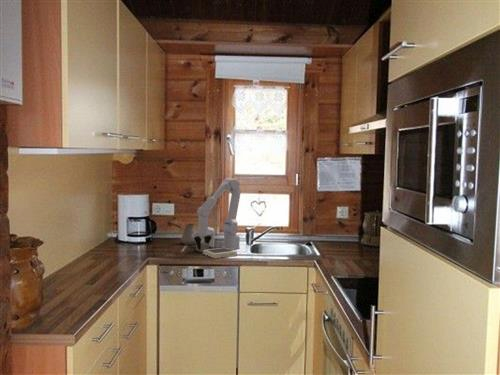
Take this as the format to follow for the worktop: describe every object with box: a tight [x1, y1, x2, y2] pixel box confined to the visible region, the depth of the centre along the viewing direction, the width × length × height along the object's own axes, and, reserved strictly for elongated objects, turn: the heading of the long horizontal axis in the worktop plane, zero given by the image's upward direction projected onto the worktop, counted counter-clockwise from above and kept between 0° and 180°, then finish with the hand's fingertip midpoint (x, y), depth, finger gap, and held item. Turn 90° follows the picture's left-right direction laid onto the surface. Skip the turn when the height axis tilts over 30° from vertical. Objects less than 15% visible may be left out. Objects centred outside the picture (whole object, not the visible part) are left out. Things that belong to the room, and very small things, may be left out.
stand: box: [202, 247, 238, 259], centre depth 269 cm, size 15×13×3 cm
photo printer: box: [200, 226, 215, 248], centre depth 293 cm, size 10×4×12 cm, turn 98°
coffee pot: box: [168, 222, 197, 246], centre depth 297 cm, size 21×12×15 cm, turn 132°
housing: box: [195, 242, 210, 253], centre depth 279 cm, size 4×8×5 cm, turn 35°
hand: (202, 248), depth 279 cm, fingers closed on housing, 5 cm apart
